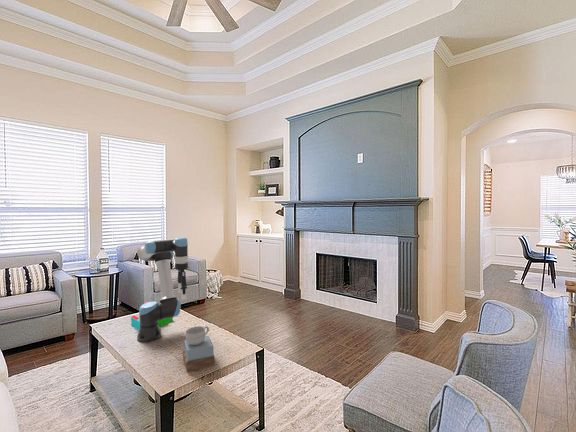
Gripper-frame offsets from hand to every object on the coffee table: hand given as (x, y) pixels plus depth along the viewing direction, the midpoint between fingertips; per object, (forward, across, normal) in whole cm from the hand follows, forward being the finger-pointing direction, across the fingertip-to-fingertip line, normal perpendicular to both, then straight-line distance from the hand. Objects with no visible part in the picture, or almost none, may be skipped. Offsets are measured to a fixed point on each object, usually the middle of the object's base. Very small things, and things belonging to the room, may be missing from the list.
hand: (182, 296), depth 189 cm
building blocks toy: (+36, -55, -14) cm, 67 cm away
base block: (+34, +22, +5) cm, 41 cm away
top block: (+28, +22, +6) cm, 36 cm away
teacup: (+22, +21, +6) cm, 31 cm away
